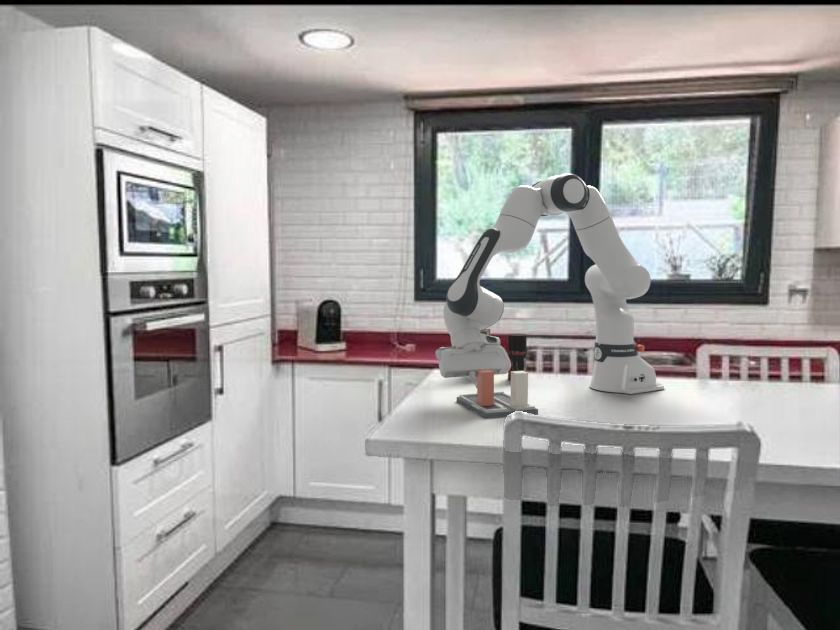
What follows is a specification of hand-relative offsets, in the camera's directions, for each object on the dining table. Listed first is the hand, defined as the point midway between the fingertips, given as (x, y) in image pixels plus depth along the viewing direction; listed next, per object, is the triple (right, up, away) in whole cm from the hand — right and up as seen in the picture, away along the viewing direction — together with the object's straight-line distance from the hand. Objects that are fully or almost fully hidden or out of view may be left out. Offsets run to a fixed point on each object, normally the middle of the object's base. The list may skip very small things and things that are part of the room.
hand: (482, 387), depth 172 cm
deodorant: (+15, -2, +40) cm, 43 cm away
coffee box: (+3, -2, +45) cm, 45 cm away
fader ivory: (+9, -5, -3) cm, 11 cm away
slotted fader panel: (+4, -6, +2) cm, 7 cm away
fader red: (+1, -5, -2) cm, 5 cm away
